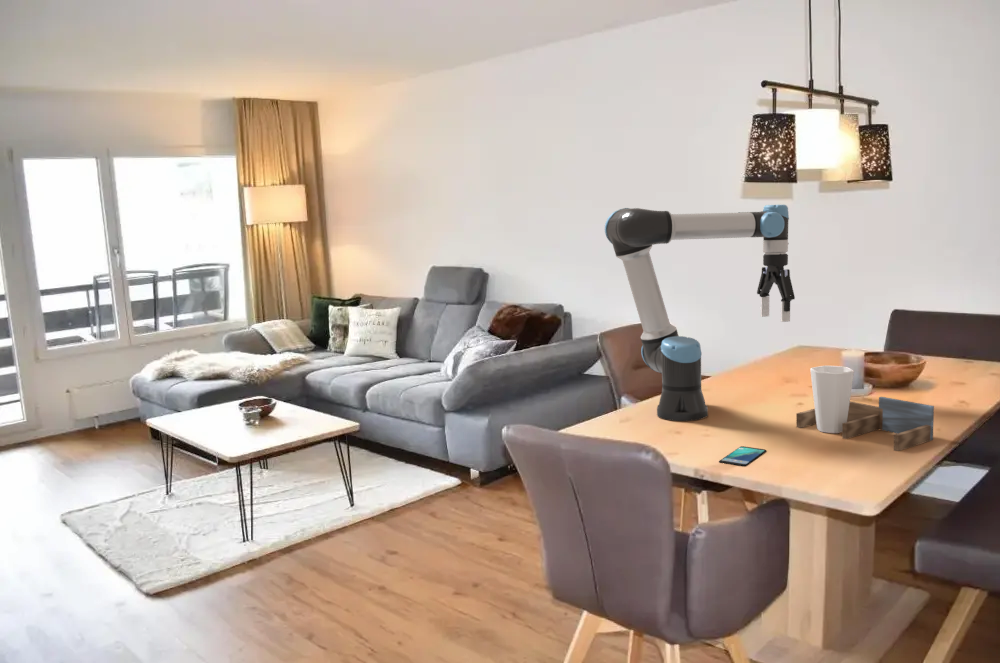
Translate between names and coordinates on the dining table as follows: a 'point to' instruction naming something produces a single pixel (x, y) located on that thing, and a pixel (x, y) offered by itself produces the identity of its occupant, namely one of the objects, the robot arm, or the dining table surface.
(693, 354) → the robot arm
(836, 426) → the cup
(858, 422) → the wooden divider rack
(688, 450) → the dining table surface
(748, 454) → the smartphone
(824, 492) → the dining table surface
